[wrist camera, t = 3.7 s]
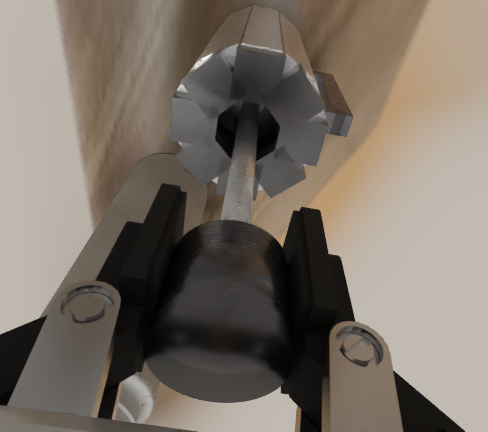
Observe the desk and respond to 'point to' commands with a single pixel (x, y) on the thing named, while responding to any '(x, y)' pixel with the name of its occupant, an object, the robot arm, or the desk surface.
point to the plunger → (226, 292)
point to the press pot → (260, 92)
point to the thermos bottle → (104, 237)
